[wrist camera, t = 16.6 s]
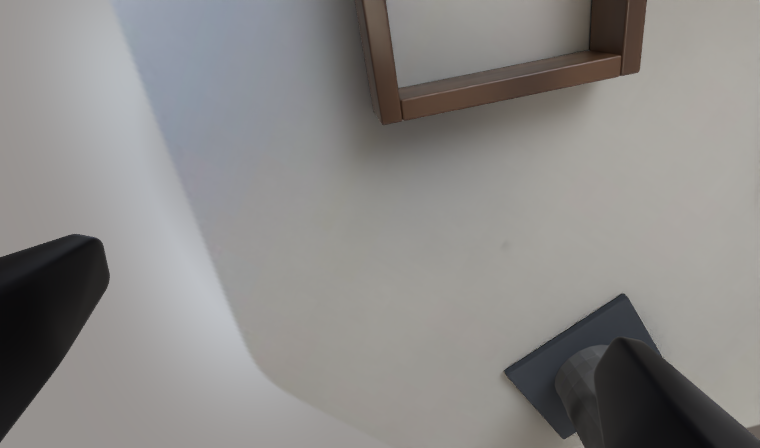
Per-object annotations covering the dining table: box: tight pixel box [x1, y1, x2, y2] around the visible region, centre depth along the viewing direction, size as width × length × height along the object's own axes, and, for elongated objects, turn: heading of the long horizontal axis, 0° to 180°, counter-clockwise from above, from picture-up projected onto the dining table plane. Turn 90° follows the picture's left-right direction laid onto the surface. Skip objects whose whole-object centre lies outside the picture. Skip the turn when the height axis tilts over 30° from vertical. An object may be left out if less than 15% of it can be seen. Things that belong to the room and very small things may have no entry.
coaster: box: [505, 294, 662, 439], centre depth 27 cm, size 8×8×1 cm
